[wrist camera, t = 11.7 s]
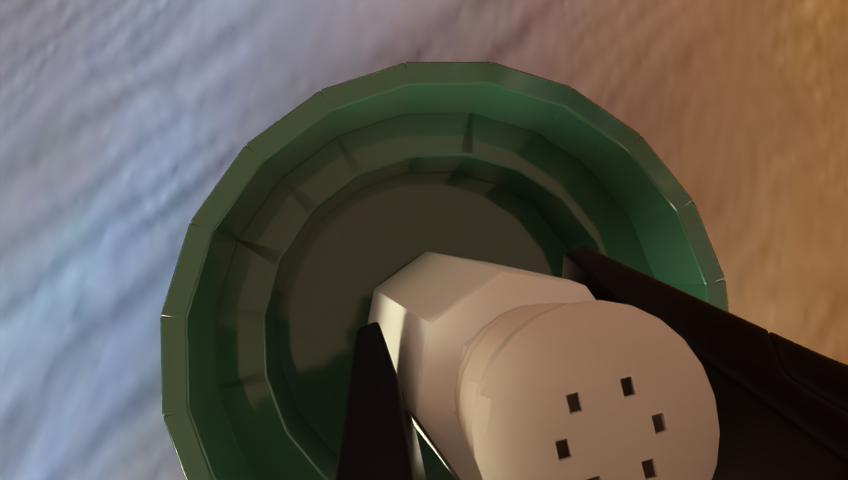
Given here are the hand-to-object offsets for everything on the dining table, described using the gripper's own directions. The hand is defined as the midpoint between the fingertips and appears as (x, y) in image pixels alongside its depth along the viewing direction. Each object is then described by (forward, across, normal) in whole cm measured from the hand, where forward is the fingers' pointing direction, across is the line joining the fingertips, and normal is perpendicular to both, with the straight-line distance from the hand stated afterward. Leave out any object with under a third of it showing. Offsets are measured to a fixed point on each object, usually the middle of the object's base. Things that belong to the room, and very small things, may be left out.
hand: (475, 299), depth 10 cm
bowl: (+5, 0, +6) cm, 8 cm away
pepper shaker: (+4, 0, +6) cm, 7 cm away
